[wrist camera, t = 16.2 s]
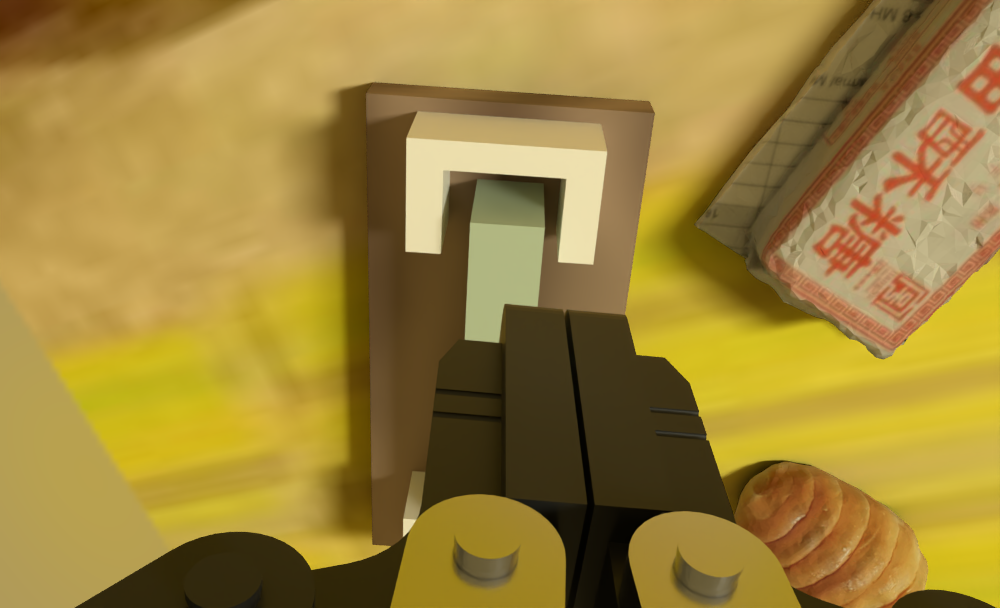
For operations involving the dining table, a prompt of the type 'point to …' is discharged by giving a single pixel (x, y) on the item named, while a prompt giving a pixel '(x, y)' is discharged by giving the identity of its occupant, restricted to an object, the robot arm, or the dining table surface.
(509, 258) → the slat
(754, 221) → the packaged product
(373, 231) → the board
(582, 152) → the cap near
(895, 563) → the pastry
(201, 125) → the dining table surface
